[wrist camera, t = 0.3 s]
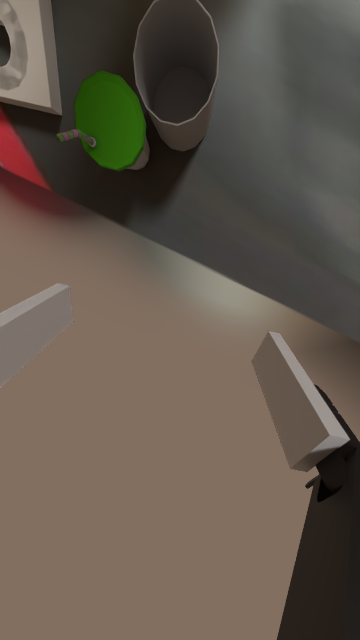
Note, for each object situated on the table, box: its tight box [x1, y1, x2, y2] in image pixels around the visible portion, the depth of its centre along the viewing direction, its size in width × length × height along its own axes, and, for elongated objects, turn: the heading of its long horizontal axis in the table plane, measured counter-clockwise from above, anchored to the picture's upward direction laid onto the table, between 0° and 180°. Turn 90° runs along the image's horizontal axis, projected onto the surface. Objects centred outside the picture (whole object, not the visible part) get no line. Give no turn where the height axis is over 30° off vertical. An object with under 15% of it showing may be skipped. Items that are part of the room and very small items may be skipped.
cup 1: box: [56, 70, 150, 172], centre depth 23 cm, size 8×8×15 cm
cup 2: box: [133, 0, 219, 151], centre depth 23 cm, size 8×8×10 cm
